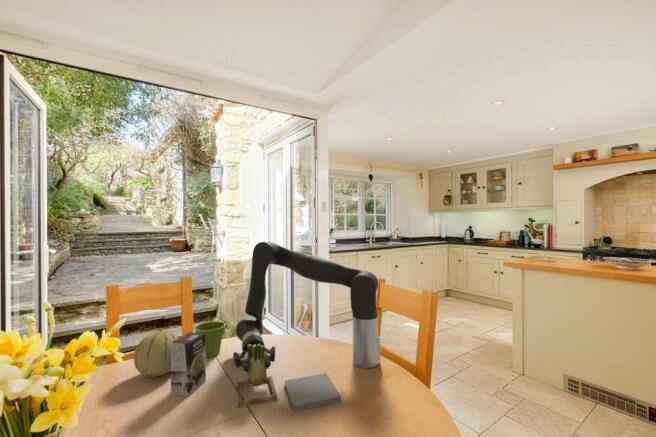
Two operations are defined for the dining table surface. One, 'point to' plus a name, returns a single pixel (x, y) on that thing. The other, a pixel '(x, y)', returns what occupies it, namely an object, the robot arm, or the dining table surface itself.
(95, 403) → the dining table surface
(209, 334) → the plant pot
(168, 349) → the cantaloupe
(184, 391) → the coffee box
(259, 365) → the fennel bulb
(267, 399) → the walnut collar
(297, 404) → the slate board
